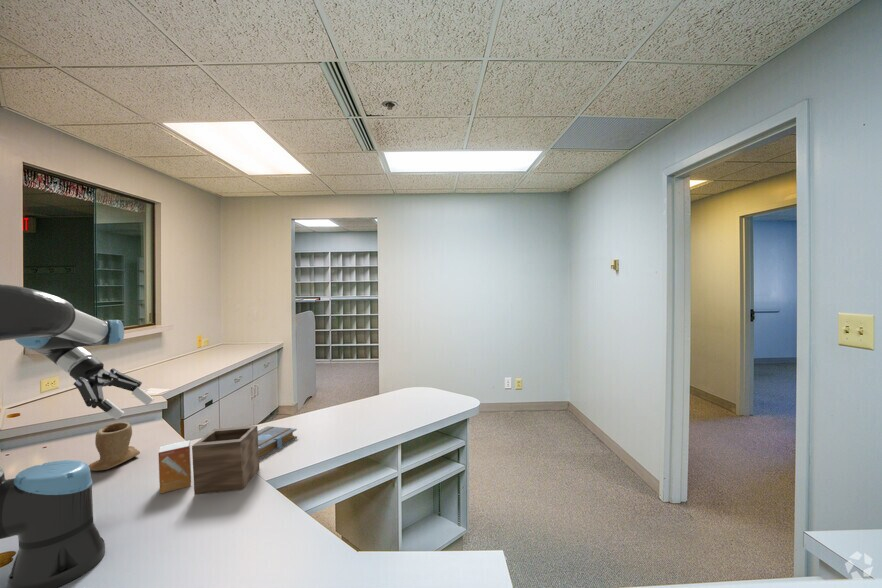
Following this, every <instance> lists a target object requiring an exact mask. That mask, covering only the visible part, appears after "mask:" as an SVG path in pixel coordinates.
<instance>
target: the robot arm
mask: <svg viewBox="0 0 882 588" xmlns="http://www.w3.org/2000/svg"><path fill="white" fill-rule="evenodd" d="M124 337H125V327H124V323H123V322H122V321H121V320H119V319H107V320H103V319H102V320H101V319H100V318H98V317H95V316H93V315H90V314H88V313H85V312H84V311H81V310H79V309H77V308H75V307H74V306H73V304H72V303H71V302H69V301H67V300H66V299H64V298H62V297H60V296H57V295H54V294H52V293H48V292H45V291H41V290H36V289H33V288H28V287H23V286H17V285H10V284H0V341H10V340H14V341H15V342H16V343H17V344H18V345H21V346H22V347H23V348H25V349H28V350H31V351H34V352H36V353H39V354H42V356H44V357H46V358H47V359H49V360H50V361H51V362H53V364H54V365H56V366H58V367H59V368H60V369H62V370H63V371H64V372H65V373H66V374H68V375H69V376H70V378H73V380H75V382H73V386H75V388H77V389H78V392H79V394H80V396H81V398H82V400H83V401H84V403H85V406H87V407H88V408H90V407H91V408H92V409H96V408H97V407H98V408H99V409H101V410H102V411H103V412H105V413H107V414H108V415H109V416H110V417H112V418H113V419H114V420H116V421H118V420H119V419H121V417H122V416H124V414H125V413H126V412H125V411H123V409H121V408H120V407H118V406H117V405H116V404H115V403H113V402H112V401H111V400H110V399H108V398H105V397H104V392H103V387H116V388H119V389H122V390H126V391H129V392H131V395H133V396H134V397H135V398H136V399H138V400H139V401H140V402H141V403H143V404H144V405H146V406H147V407H148V406H149V405H150V404H151V403H152V402H153V401H154V399H155V398H154V397H152V396H151V395H150V394H149V393H147V392H146V391H145V390H144V389H143V388H141V386H142V384H143V382H142V381H140V380H138V379H135V378H134V377H131V376H129V375H126V374H124V373H122V372H120V371H119V370H117V369H116V368H113V367H111V369H110V370H105V369H104V363H103V362H102V361H101V360H100V359H98V358H97V357H94V355H93V354H92V353H91V352H90V351H88V349H85V348H84V347H94V346H95V347H96V346H109V345H117V344H121V343H122V342H123V341H124ZM92 486H93V478H92V475H91V470H90V468H89V464H88V463H87V462H83V461H81V460H77V459H76V460H75V459H73V460H71V459H68V460H67V459H66V460H56V461H50V462H49V461H48V462H44V463H42V464H39V465H38V464H37V465H33V466H30V467H28V468H25V469H23V470H21V471H19V472H18V473H17V474H16V476H15V478H10V479H7V478H6V477H5V470H4V468H3V467H0V540H3V539H5V538H10V537H15V536H17V538H18V551H17V554H16V557H15V559H14V562H13V565H12V567H11V571H10V573H9V576H8V578H7V588H59V587H62V586H63V585H66V584H68V583H70V582H72V581H74V580H75V579H77V578H80V577H81V576H82V575H84V574H86V573H88V572H89V571H90V570H92V569H93V568H94V567H96V566H97V565H98V564H99V563H100V562H101V560H103V558H104V556H105V554H106V542H105V540H104V539H103V537H101V534H100V533H99V531H98V529H97V527H96V525H95V521H94V509H93V508H94V504H93V487H92Z"/></svg>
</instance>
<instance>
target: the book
mask: <svg viewBox="0 0 882 588" xmlns="http://www.w3.org/2000/svg"><path fill="white" fill-rule="evenodd" d="M297 430H298V429H297V428H292V427H279V426H266V427H264V428H261V429H260V430H258V450H259V461H260V460H262V459H263V458H265V457H266V456H268V455H270V454H271V453H273V452H275V451H277V450H280V449H282V447H284V446H285V445H287V444H288V443H290V442H292V441H294V440H295V439H297V438H298V436H296V435H294V434H293V433H294V432H296V431H297Z"/></svg>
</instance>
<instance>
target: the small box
mask: <svg viewBox="0 0 882 588" xmlns="http://www.w3.org/2000/svg"><path fill="white" fill-rule="evenodd" d="M191 458H192V457H191V440H190V439H189V440H184V441H178V442H174V443H170V444H165V445H160V446H159V450H158V476H159V477H158V478H159V481H158V482H159V494H163V493H168V492H171V491H176V490H178V489H183V488H186V487H191V486H192V462H191Z"/></svg>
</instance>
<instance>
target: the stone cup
mask: <svg viewBox="0 0 882 588" xmlns="http://www.w3.org/2000/svg"><path fill="white" fill-rule="evenodd" d="M132 435H133V428H132V425H131V423H129V422H126V421H116V422H112V423H108V424H107V425H105V426H103V427H102V428H99V429H98V431H96V433H95V437H94V438H95V441H94V443H95V448H96V449H97V452H98V455H99V459H98V460H95V461H94V462H92V463H90V464H88V466H89V468H90V471H95V472H96V471H97V472H98V471H106V470H109V469H110V470H111V468H114V467H117V466H119V465H121V464H123V463H125V462H127V461H129V460H131V459H133V458H136V456H139V455H141V451H140V450H139V449H137V448H136V447H134V446H133V445H130V444H131V443H130V442H131V438H132V437H133V436H132Z"/></svg>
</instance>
